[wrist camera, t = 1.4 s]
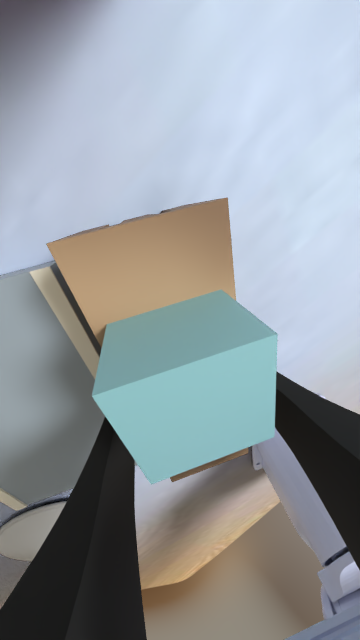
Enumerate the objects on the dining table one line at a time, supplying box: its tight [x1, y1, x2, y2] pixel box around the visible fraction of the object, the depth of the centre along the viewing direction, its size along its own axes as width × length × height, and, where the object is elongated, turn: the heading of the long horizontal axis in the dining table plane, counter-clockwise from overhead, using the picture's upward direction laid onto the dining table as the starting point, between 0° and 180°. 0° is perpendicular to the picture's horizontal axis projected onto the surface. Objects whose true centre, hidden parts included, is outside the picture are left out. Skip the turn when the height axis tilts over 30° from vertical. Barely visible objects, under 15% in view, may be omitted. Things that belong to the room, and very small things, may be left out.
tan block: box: [47, 198, 248, 482], centre depth 11 cm, size 14×5×5 cm, turn 12°
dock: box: [0, 261, 138, 511], centre depth 12 cm, size 16×11×2 cm
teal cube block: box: [92, 289, 277, 484], centre depth 6 cm, size 4×4×3 cm
